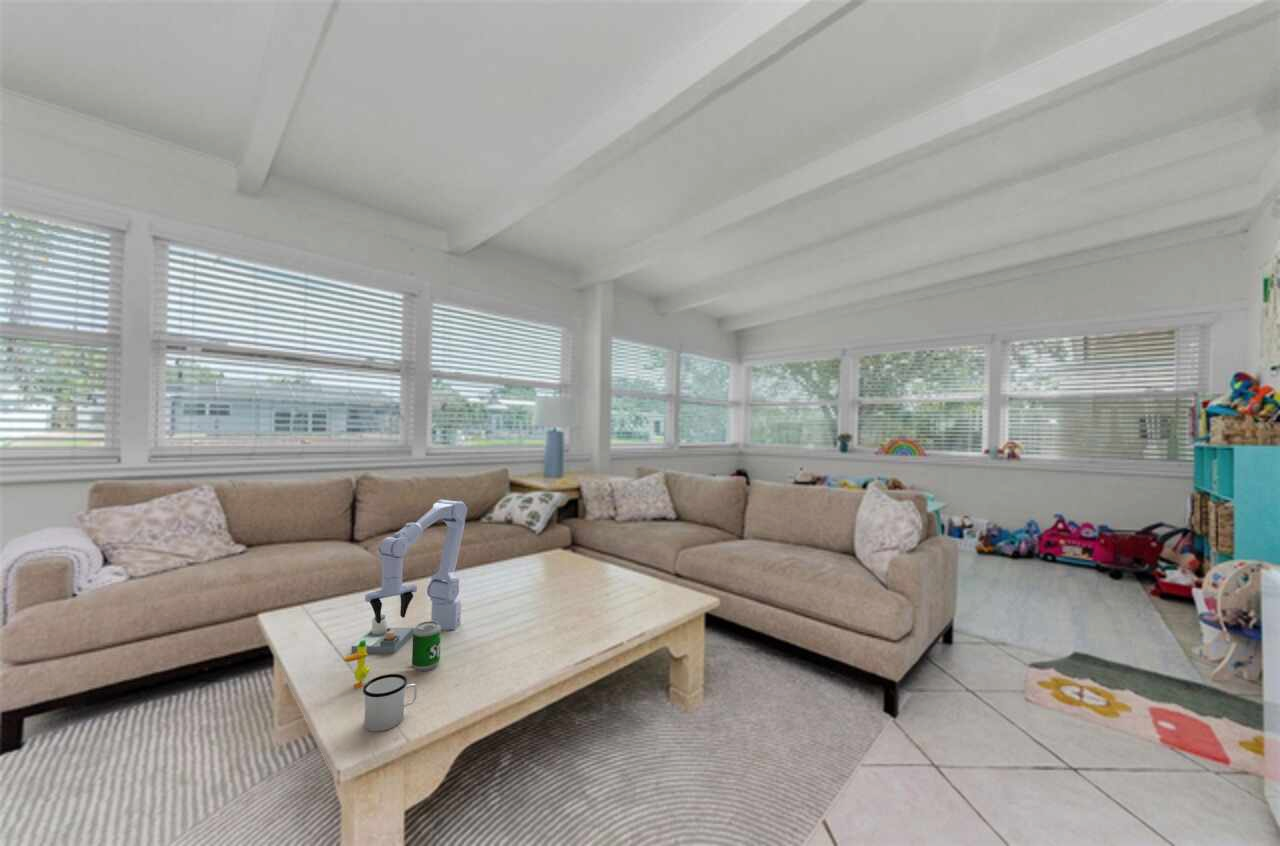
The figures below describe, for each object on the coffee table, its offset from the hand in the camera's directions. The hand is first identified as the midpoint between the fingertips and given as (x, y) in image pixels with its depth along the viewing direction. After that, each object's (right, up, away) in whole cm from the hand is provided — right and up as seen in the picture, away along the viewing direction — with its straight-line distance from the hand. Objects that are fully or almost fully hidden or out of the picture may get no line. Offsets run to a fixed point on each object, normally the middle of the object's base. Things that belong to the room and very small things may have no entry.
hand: (390, 619), depth 151 cm
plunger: (0, -6, 0) cm, 6 cm away
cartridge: (-8, -9, +8) cm, 15 cm away
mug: (+18, -10, -34) cm, 40 cm away
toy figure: (+2, -10, -20) cm, 23 cm away
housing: (-5, -10, +5) cm, 12 cm away
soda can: (+15, -11, -9) cm, 20 cm away
